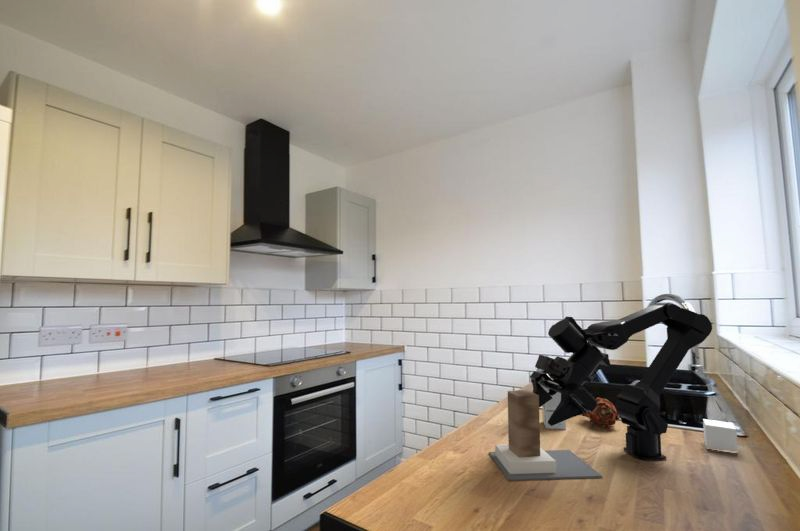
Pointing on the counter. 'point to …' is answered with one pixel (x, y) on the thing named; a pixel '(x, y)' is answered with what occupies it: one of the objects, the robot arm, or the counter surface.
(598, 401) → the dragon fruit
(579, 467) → the build board
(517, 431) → the walnut pillar block
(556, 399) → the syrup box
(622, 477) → the counter surface
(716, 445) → the white cube
